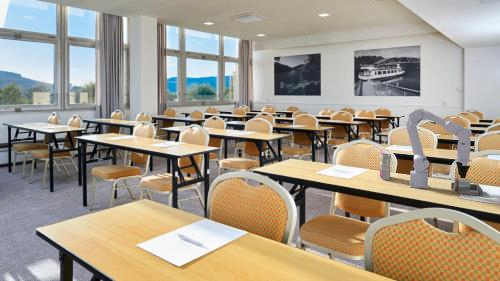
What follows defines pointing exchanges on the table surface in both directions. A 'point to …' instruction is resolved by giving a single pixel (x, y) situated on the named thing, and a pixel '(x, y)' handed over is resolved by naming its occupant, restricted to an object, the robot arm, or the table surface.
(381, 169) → the candy bar box
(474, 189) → the tray
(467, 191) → the blue block
